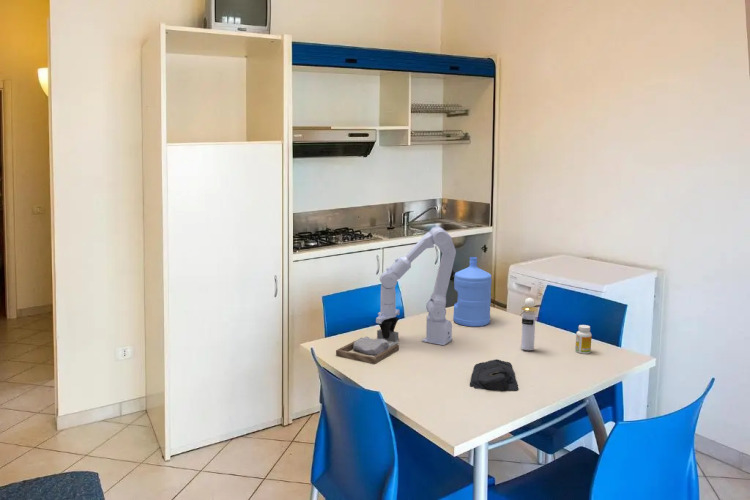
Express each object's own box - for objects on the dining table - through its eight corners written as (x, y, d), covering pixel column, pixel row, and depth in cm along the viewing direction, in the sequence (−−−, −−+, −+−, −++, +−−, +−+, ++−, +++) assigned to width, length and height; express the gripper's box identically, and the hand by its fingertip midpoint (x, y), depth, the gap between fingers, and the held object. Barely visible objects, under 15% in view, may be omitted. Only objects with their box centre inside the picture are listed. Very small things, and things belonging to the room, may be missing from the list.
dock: (398, 350, 236) (398, 344, 235) (374, 364, 221) (374, 358, 221) (361, 342, 244) (361, 337, 244) (336, 355, 230) (336, 350, 229)
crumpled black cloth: (517, 369, 218) (518, 356, 217) (518, 394, 197) (518, 379, 196) (472, 365, 221) (473, 352, 220) (468, 390, 200) (468, 375, 199)
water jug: (497, 321, 272) (499, 257, 267) (476, 329, 261) (478, 262, 256) (467, 314, 282) (469, 252, 277) (445, 322, 271) (447, 257, 266)
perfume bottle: (521, 346, 240) (523, 295, 236) (536, 348, 237) (539, 296, 234) (518, 351, 234) (520, 298, 231) (533, 353, 232) (536, 300, 228)
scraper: (398, 342, 244) (398, 332, 243) (387, 348, 237) (387, 338, 236) (380, 339, 248) (380, 329, 247) (369, 345, 241) (369, 334, 240)
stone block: (378, 361, 229) (391, 348, 237) (376, 349, 228) (389, 337, 236) (350, 357, 235) (363, 344, 243) (348, 345, 234) (362, 333, 242)
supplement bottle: (593, 351, 234) (594, 326, 233) (586, 355, 230) (588, 329, 229) (579, 348, 238) (580, 323, 236) (572, 351, 234) (574, 326, 232)
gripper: (388, 297, 250) (388, 330, 253) (369, 305, 238) (369, 340, 241) (404, 299, 247) (403, 333, 249) (385, 308, 235) (385, 343, 237)
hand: (387, 336), depth 245 cm, fingers closed on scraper, 2 cm apart
